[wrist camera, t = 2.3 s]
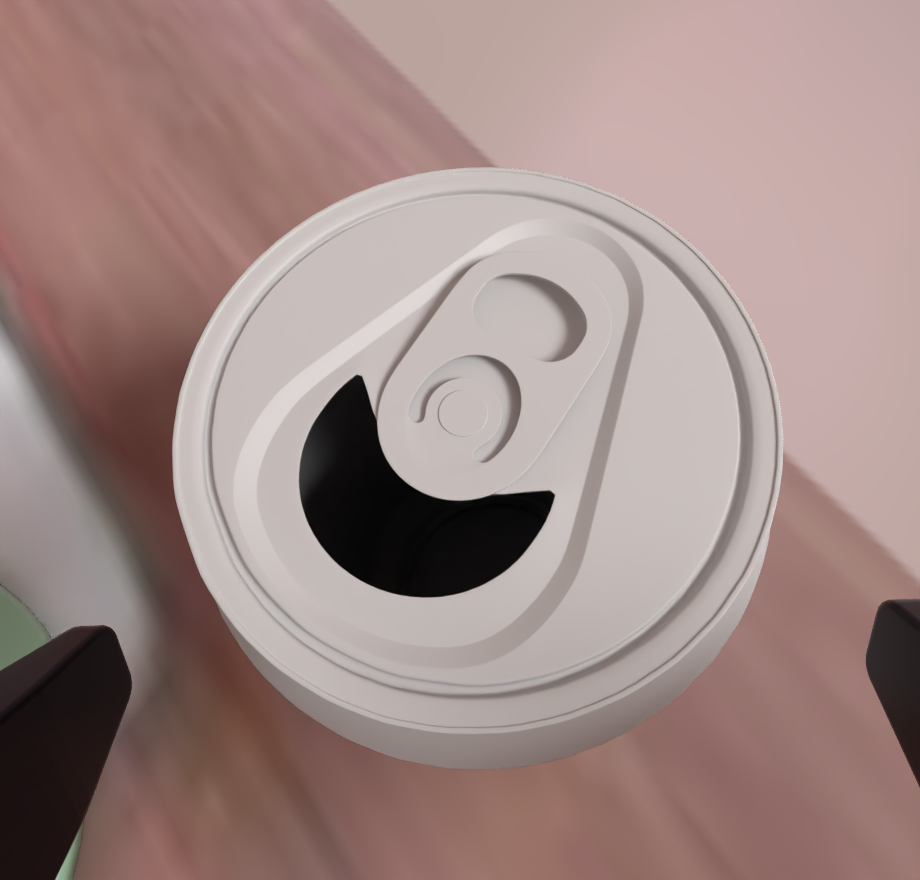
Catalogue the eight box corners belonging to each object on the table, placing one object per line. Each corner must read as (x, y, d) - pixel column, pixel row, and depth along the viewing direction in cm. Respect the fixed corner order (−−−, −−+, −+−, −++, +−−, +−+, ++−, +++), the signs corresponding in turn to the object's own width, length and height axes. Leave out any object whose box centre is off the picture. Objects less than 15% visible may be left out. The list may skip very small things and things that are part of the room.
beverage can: (325, 622, 17) (-22, 501, 6) (461, 430, 19) (392, 52, 8) (532, 776, 15) (596, 1011, 4) (661, 551, 17) (950, 298, 6)
